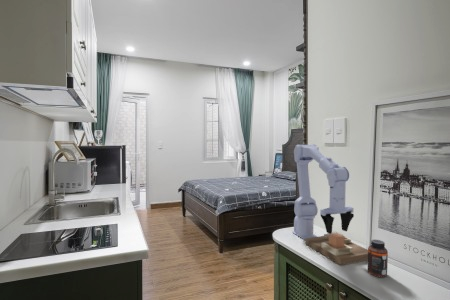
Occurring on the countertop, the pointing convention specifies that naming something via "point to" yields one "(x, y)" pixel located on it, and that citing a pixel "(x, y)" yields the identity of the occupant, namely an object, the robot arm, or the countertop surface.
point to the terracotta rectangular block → (336, 240)
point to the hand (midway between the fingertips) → (336, 231)
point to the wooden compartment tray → (355, 256)
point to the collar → (338, 251)
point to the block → (331, 233)
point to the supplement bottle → (377, 258)
